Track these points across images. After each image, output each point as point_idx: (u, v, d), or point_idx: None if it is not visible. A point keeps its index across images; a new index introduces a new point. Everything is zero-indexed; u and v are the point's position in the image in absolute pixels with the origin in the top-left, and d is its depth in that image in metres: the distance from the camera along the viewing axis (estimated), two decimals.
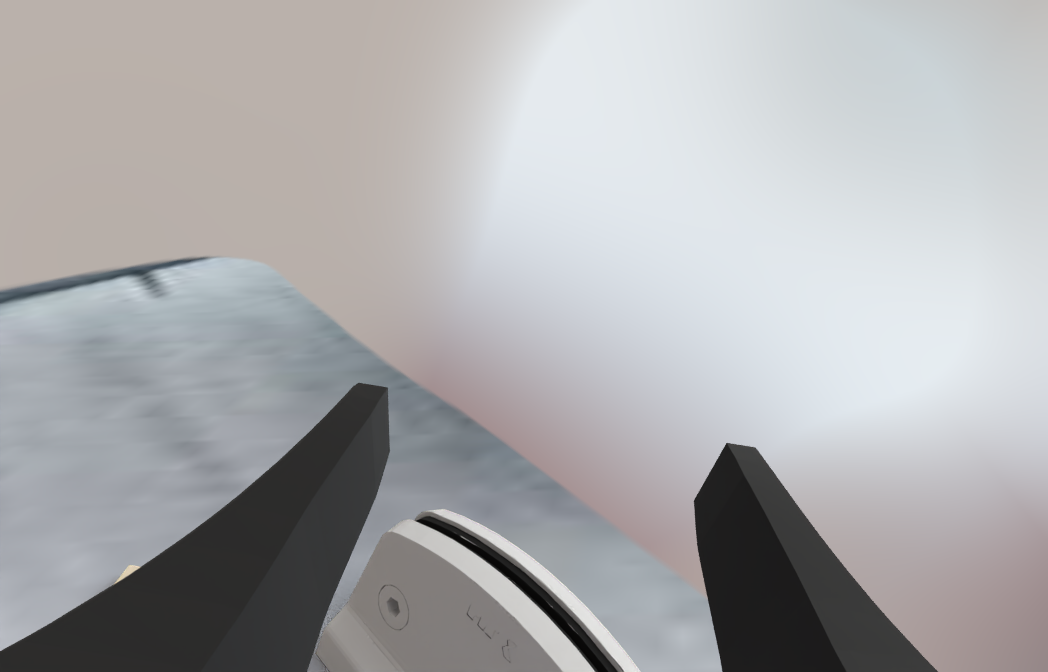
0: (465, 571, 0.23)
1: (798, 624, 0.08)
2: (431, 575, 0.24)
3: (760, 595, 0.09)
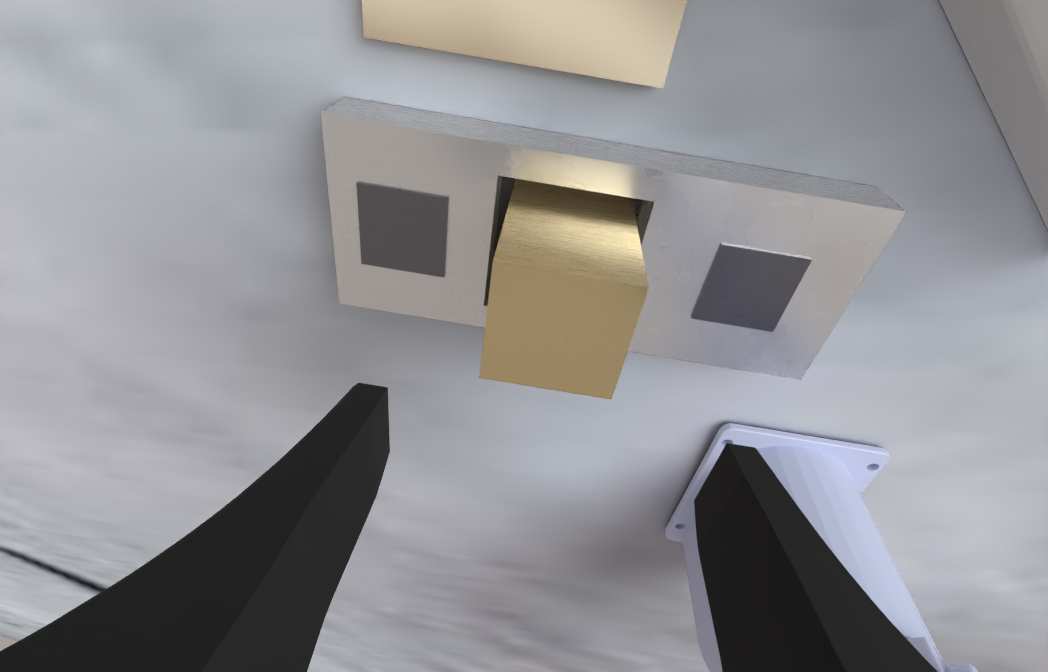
0: None
1: (798, 624, 0.08)
2: None
3: (760, 595, 0.09)
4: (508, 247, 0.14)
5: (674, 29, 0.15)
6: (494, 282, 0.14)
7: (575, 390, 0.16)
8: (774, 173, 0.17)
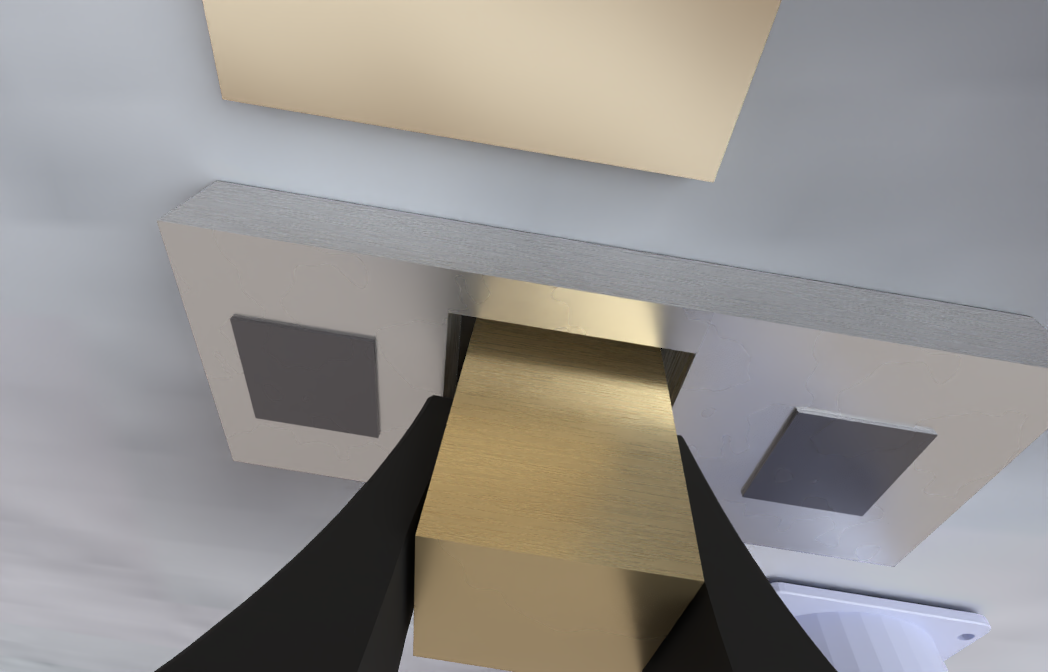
0: None
1: (696, 608, 0.08)
2: None
3: None
4: (449, 487, 0.08)
5: (739, 92, 0.09)
6: (422, 559, 0.07)
7: None
8: (879, 300, 0.11)
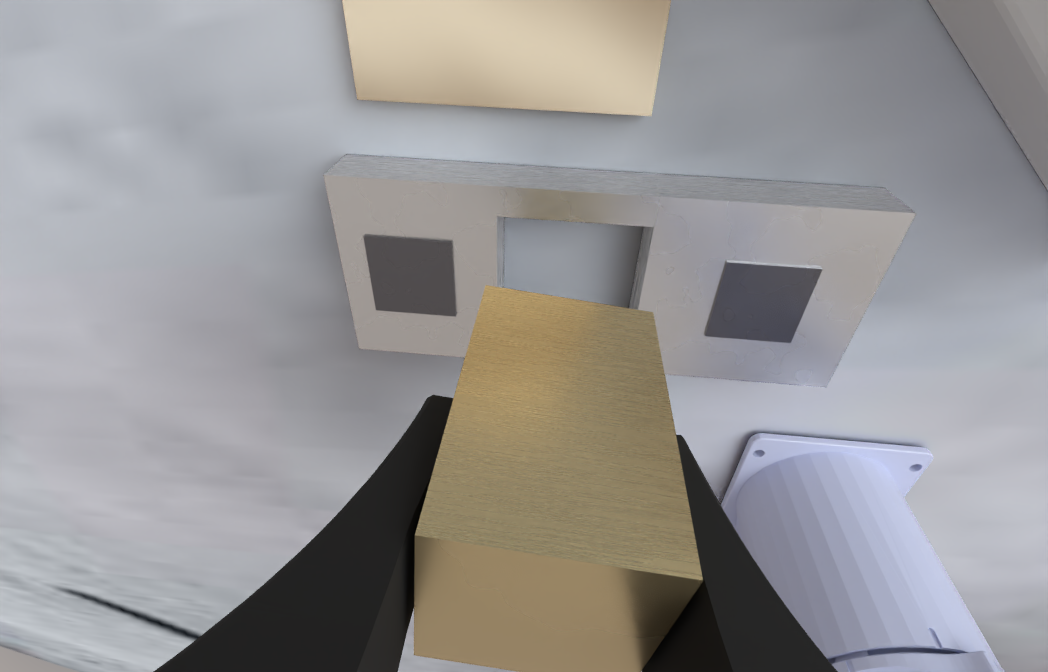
0: None
1: (696, 608, 0.08)
2: None
3: None
4: (448, 486, 0.08)
5: (656, 59, 0.15)
6: (421, 559, 0.07)
7: None
8: (775, 185, 0.17)
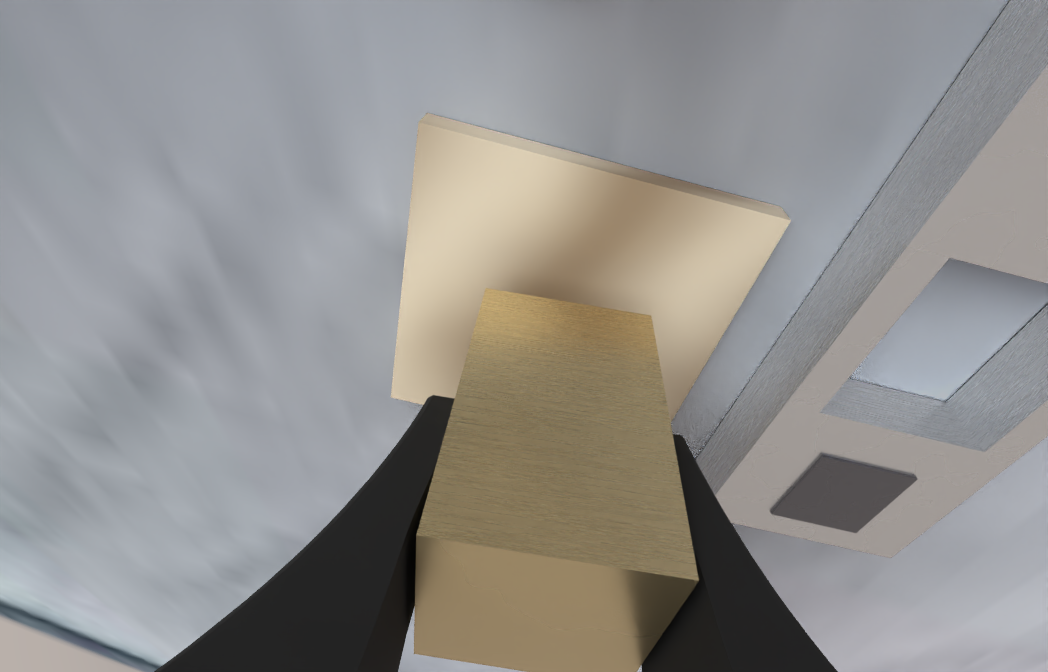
0: None
1: (696, 608, 0.08)
2: None
3: None
4: (449, 488, 0.08)
5: (728, 210, 0.12)
6: (422, 559, 0.08)
7: None
8: (1000, 36, 0.10)
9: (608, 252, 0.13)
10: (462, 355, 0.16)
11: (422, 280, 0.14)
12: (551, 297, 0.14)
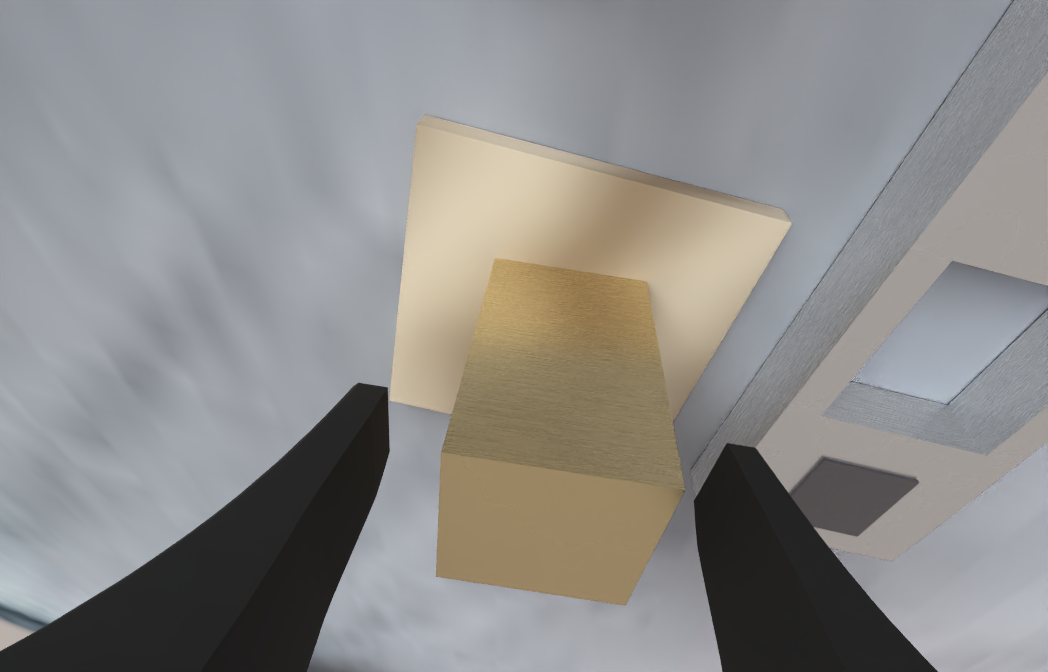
0: None
1: (798, 624, 0.08)
2: None
3: (760, 594, 0.09)
4: (467, 417, 0.09)
5: (728, 212, 0.12)
6: (446, 476, 0.09)
7: (574, 595, 0.11)
8: (1003, 37, 0.10)
9: (608, 255, 0.13)
10: (461, 358, 0.16)
11: (420, 283, 0.14)
12: None
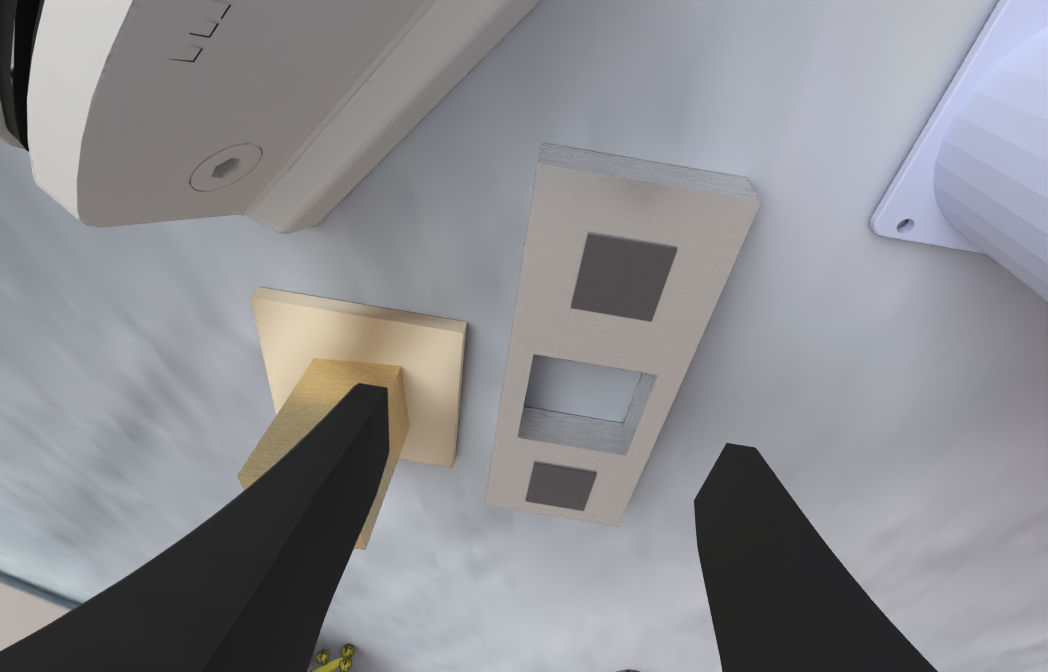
0: (90, 82, 0.09)
1: (798, 624, 0.08)
2: (138, 140, 0.11)
3: (760, 595, 0.09)
4: (257, 457, 0.19)
5: (427, 330, 0.22)
6: (245, 486, 0.19)
7: None
8: None
9: (373, 353, 0.23)
10: None
11: (278, 373, 0.24)
12: None
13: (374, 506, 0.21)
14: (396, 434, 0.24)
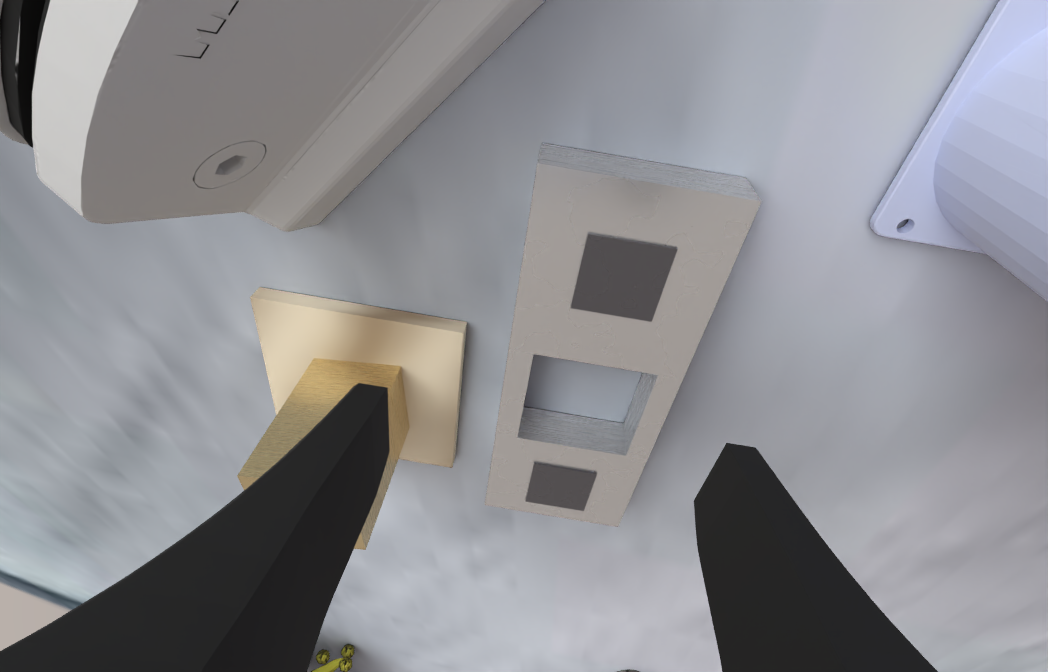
0: (96, 78, 0.09)
1: (798, 624, 0.08)
2: (143, 136, 0.11)
3: (760, 595, 0.09)
4: (257, 457, 0.19)
5: (427, 330, 0.22)
6: (245, 486, 0.19)
7: None
8: None
9: (373, 353, 0.23)
10: None
11: (278, 373, 0.24)
12: None
13: (374, 506, 0.21)
14: (396, 434, 0.24)
